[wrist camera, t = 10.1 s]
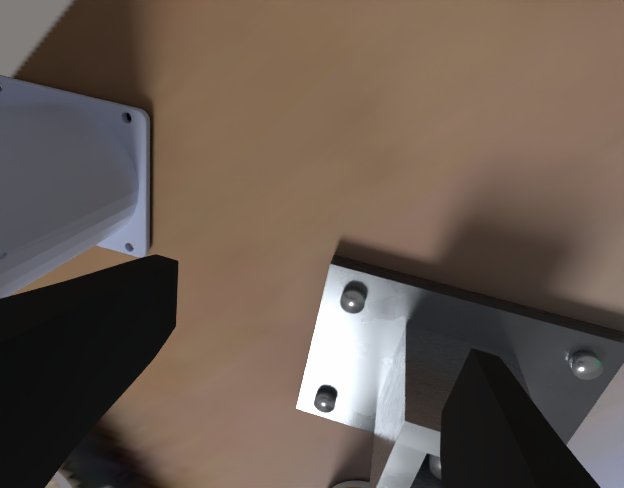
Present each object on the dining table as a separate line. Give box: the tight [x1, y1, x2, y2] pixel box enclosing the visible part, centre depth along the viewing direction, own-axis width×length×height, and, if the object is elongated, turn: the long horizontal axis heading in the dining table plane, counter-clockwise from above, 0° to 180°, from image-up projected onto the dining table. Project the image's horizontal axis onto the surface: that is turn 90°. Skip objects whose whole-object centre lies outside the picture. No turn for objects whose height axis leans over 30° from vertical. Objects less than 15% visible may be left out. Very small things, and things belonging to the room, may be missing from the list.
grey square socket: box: [369, 325, 532, 488], centre depth 18 cm, size 5×5×6 cm
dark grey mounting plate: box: [296, 255, 624, 480], centre depth 19 cm, size 14×10×6 cm
